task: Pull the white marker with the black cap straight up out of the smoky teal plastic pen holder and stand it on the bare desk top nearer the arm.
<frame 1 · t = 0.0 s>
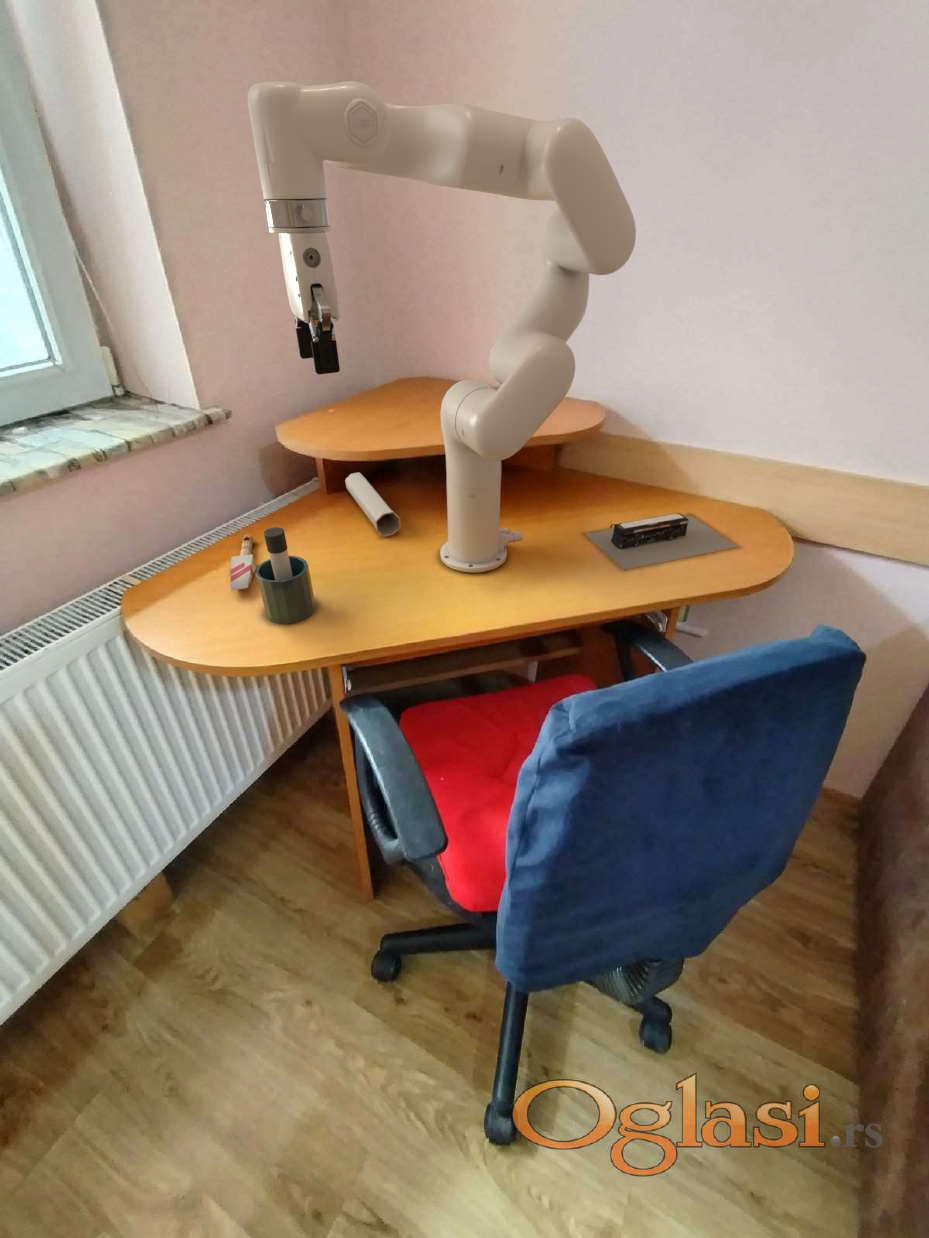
hand: (319, 364, 83), 37 cm above the table, tool pointing down, fingers open, 9 cm apart
paintbrush: (245, 568, 110), on the table
marker: (282, 571, 95), in the pen holder
tube: (370, 511, 129), on the table
gray base plate: (660, 541, 117), on the table
pen holder: (290, 609, 99), on the table
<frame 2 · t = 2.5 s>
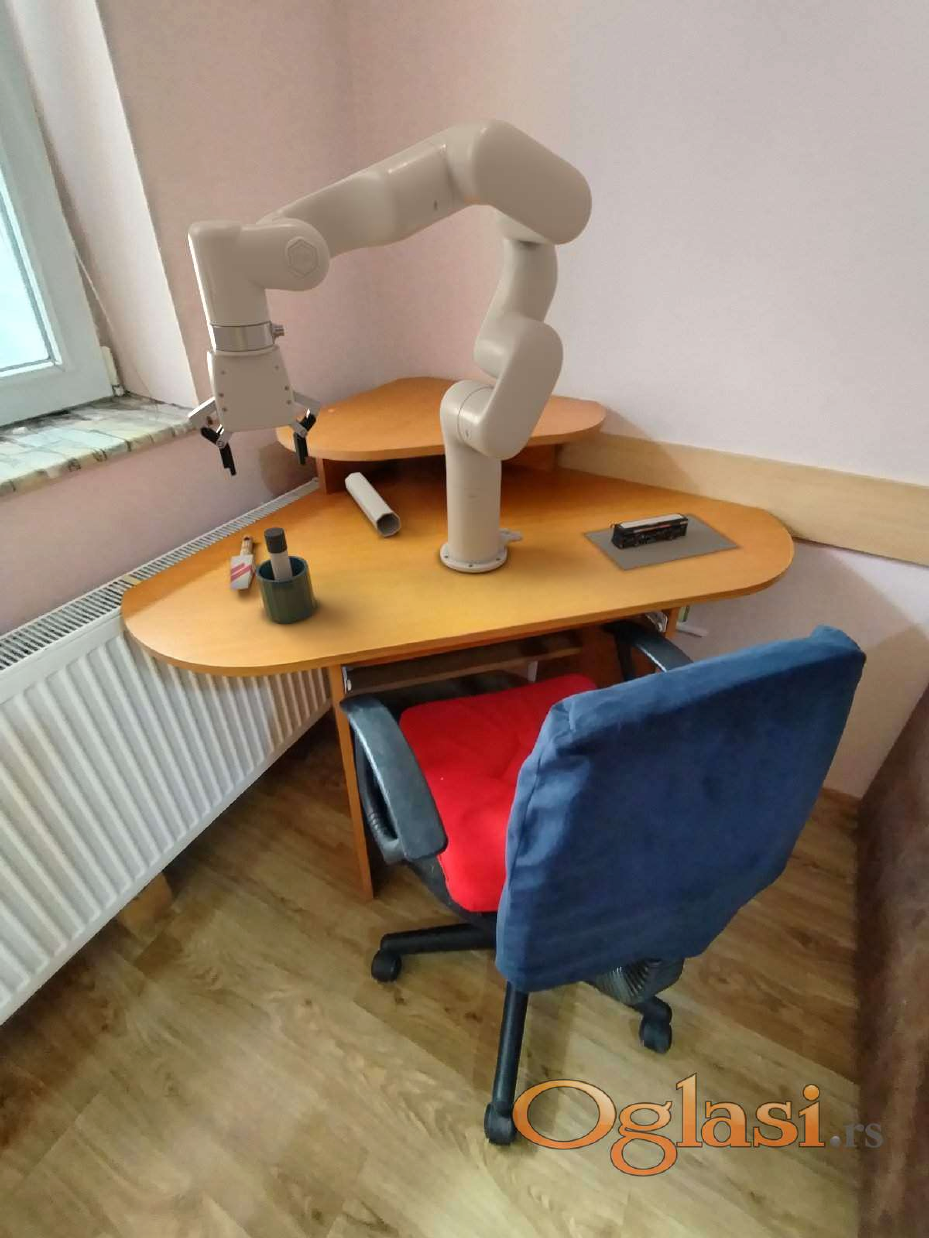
hand: (267, 467, 85), 24 cm above the table, tool pointing down, fingers open, 9 cm apart
nothing on the table moved.
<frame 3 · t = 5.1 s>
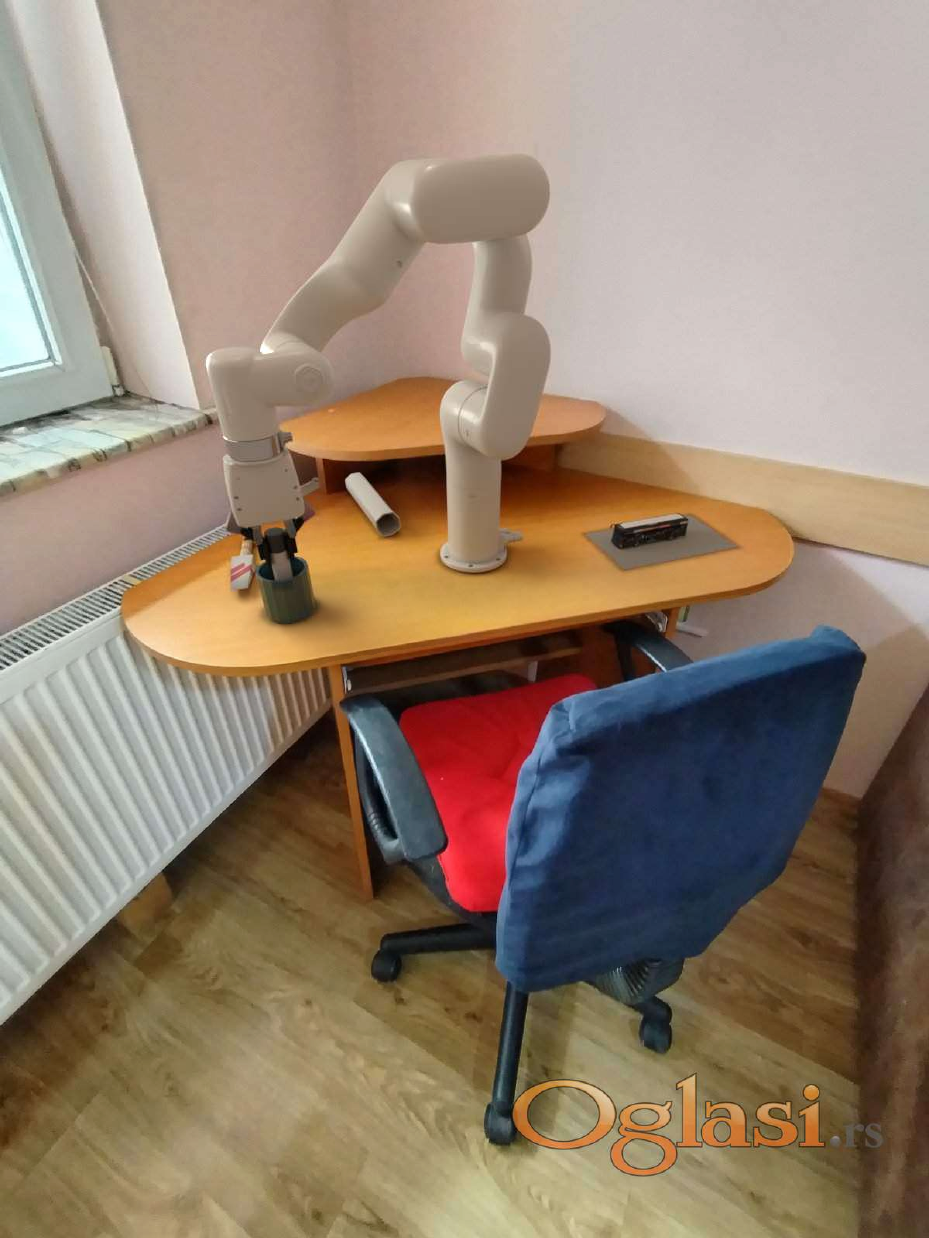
hand: (279, 559, 93), 10 cm above the table, tool pointing down, fingers closed on marker, 3 cm apart
marker: (282, 571, 95), in the pen holder, touching gripper
everything else where it was.
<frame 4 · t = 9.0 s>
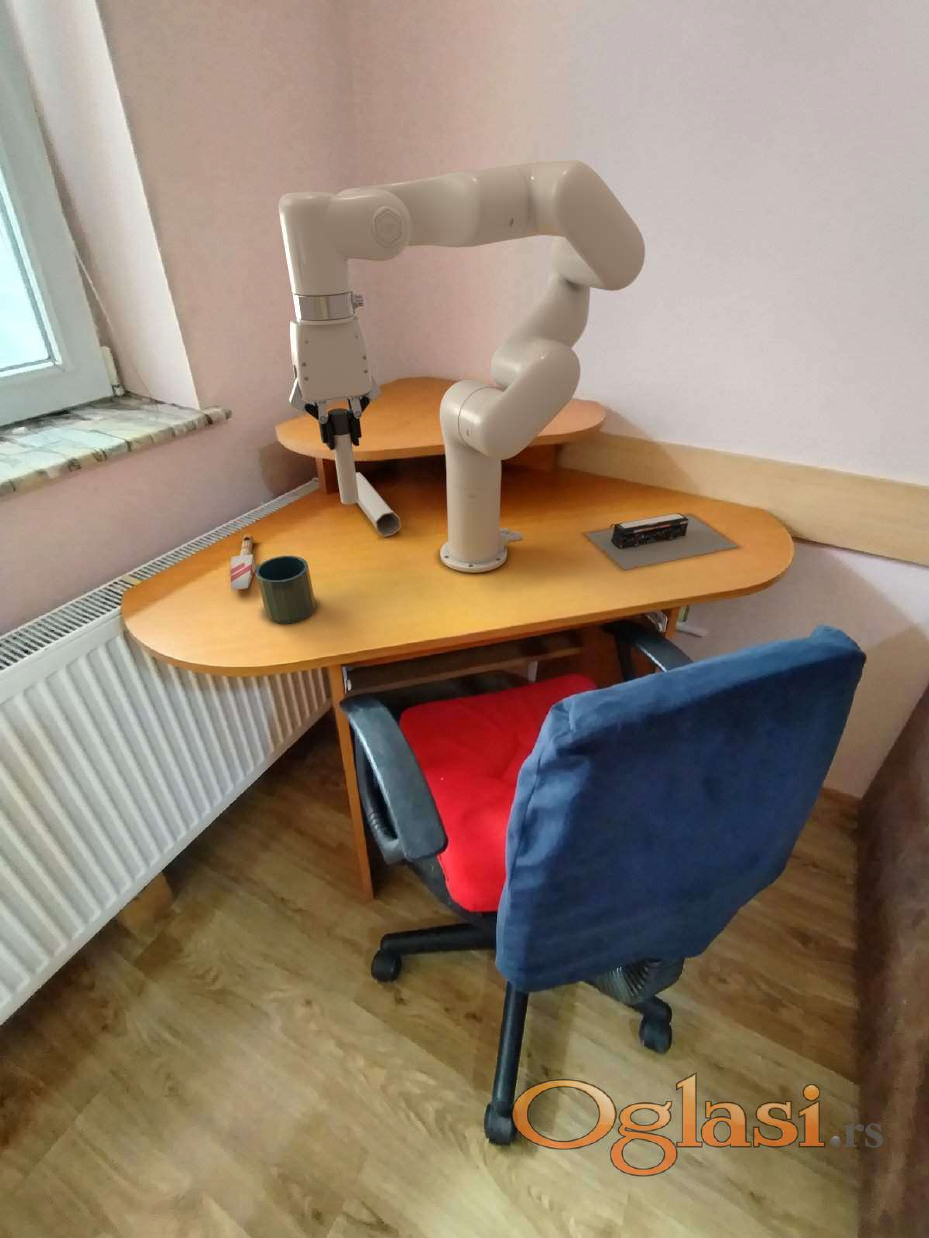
hand: (342, 444, 89), 26 cm above the table, tool pointing down, fingers closed on marker, 3 cm apart
marker: (344, 458, 90), point 24 cm above the table, touching gripper
everything else where it was.
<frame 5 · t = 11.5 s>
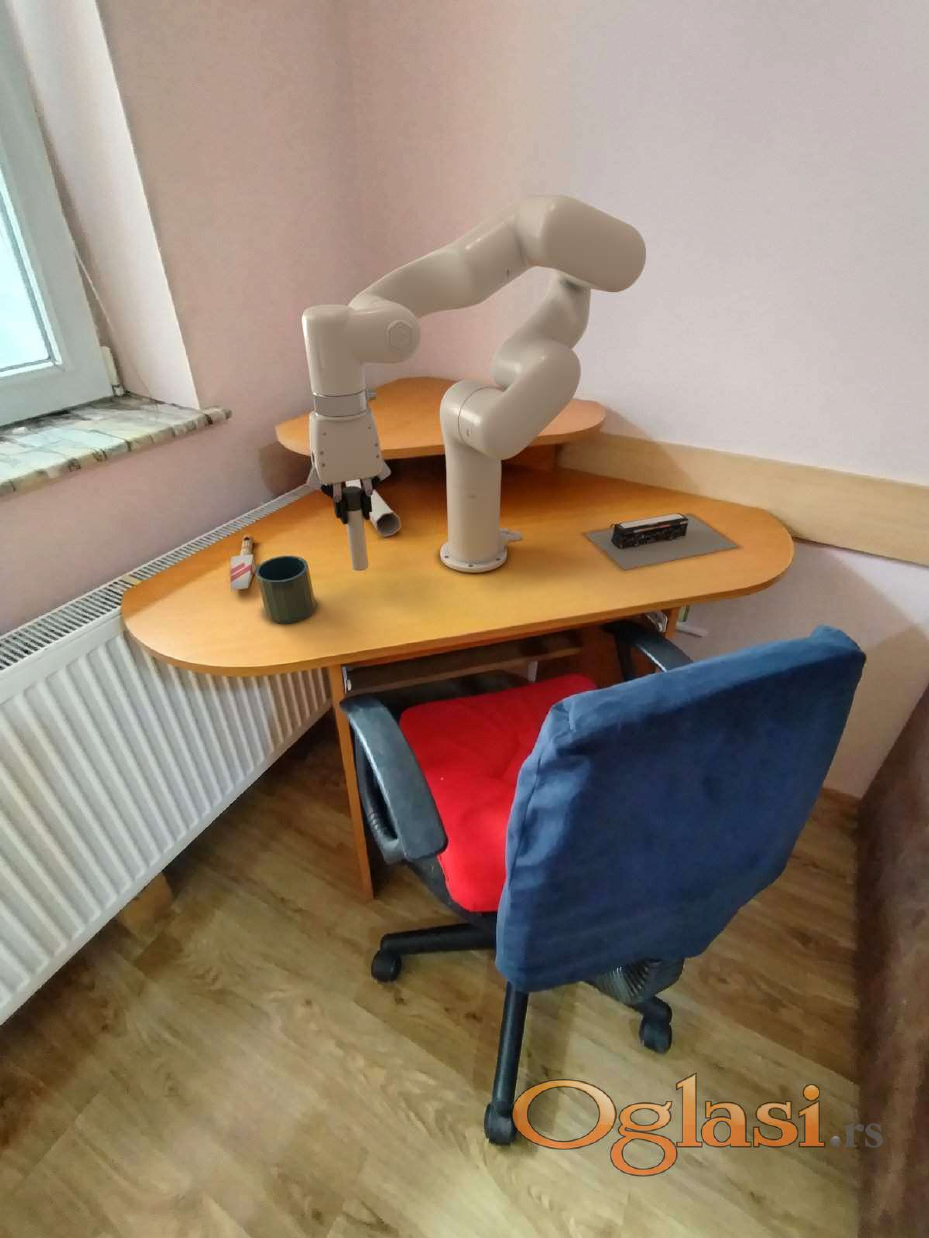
hand: (354, 517, 96), 14 cm above the table, tool pointing down, fingers closed on marker, 3 cm apart
marker: (355, 529, 97), point 12 cm above the table, touching gripper
everything else where it was.
when the fingers open (9 cm above the table, at t = 12.9 s): marker stays where it is, on the table.
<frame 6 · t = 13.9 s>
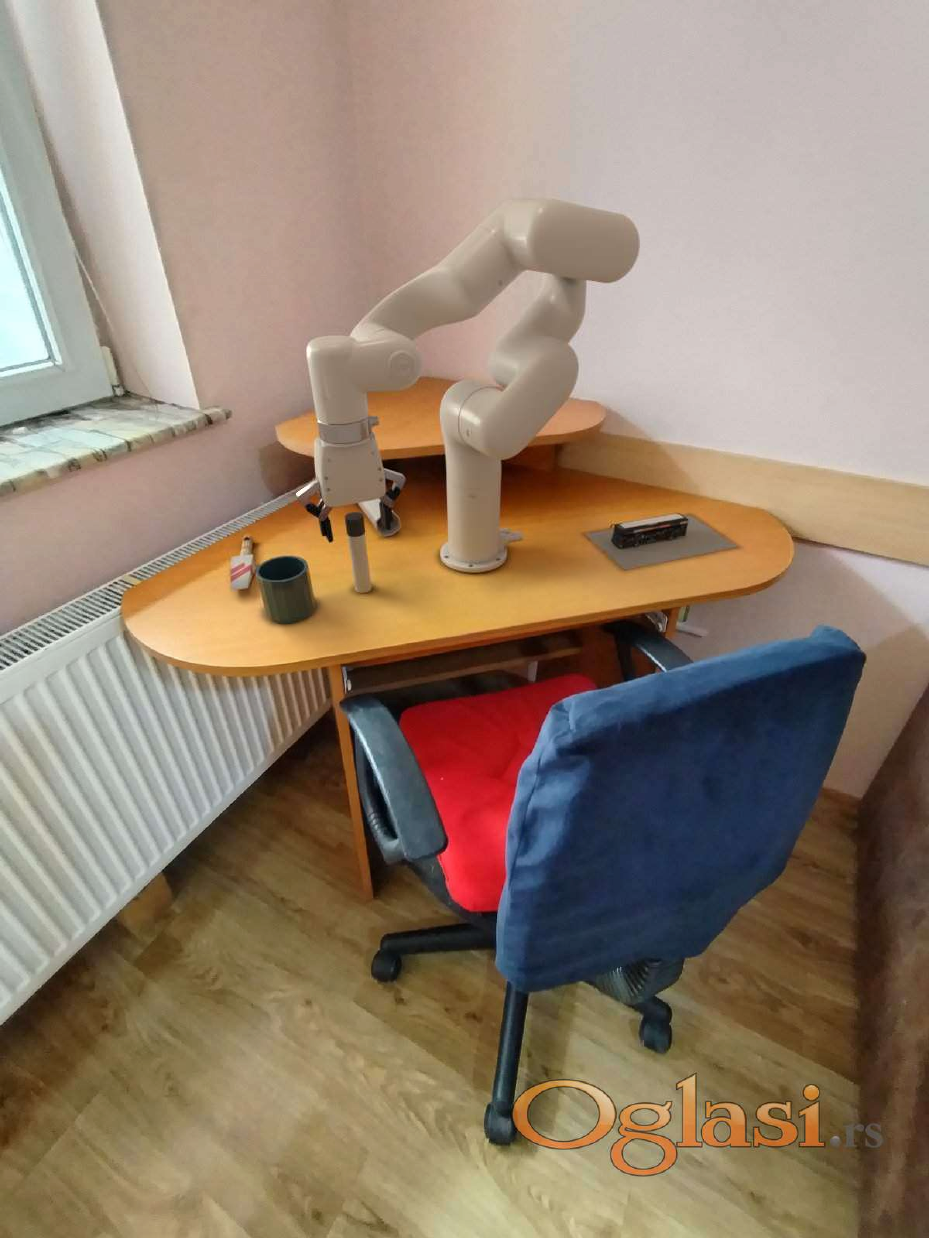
hand: (358, 532, 98), 11 cm above the table, tool pointing down, fingers open, 9 cm apart
marker: (358, 554, 100), on the table
everything else where it was.
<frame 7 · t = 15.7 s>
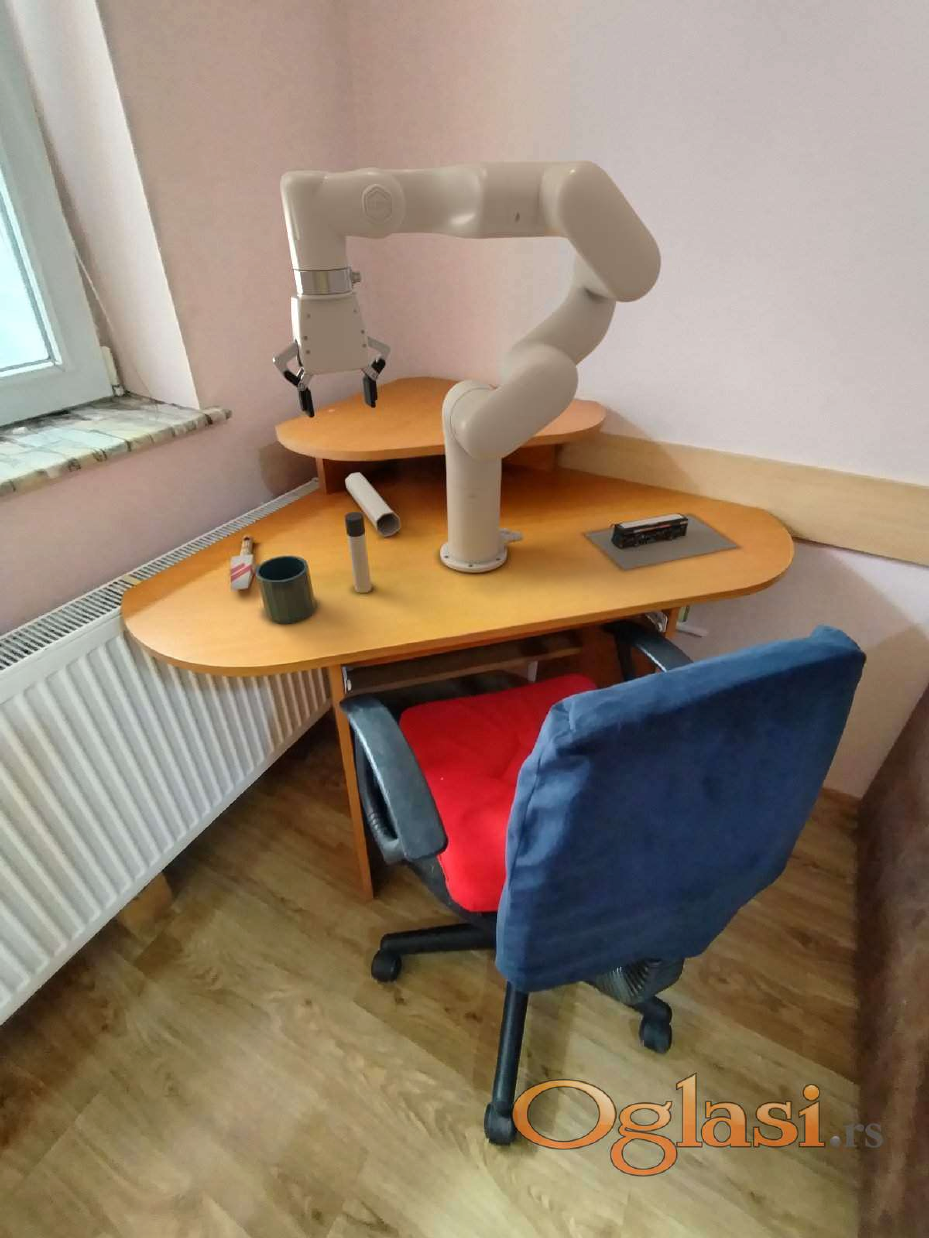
hand: (340, 410, 91), 29 cm above the table, tool pointing down, fingers open, 9 cm apart
nothing on the table moved.
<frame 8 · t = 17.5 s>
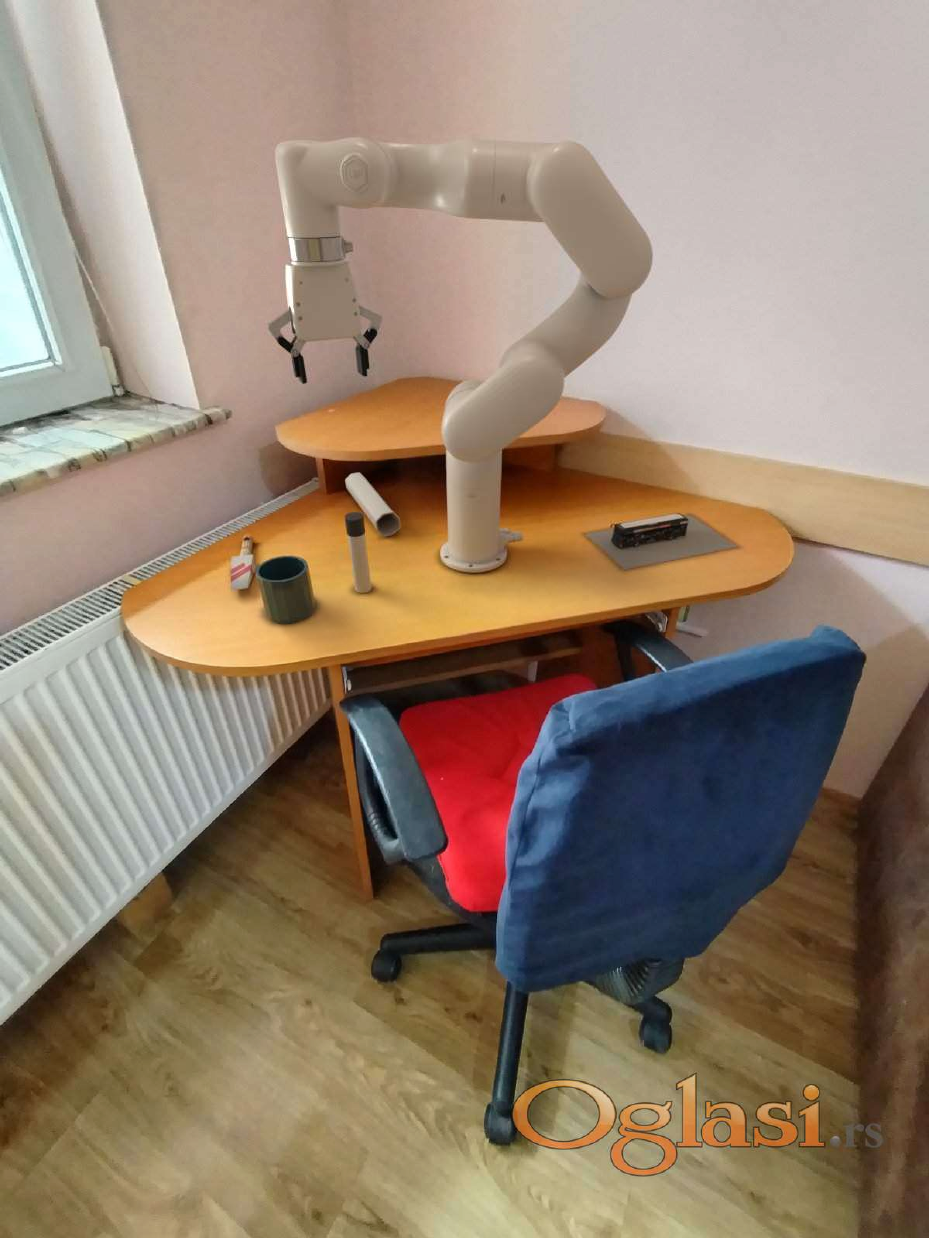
hand: (333, 378, 95), 32 cm above the table, tool pointing down, fingers open, 9 cm apart
nothing on the table moved.
at the end: marker inside the target area (0.2 cm from its centre), on the table; marker touching table; the gripper is holding nothing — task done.
